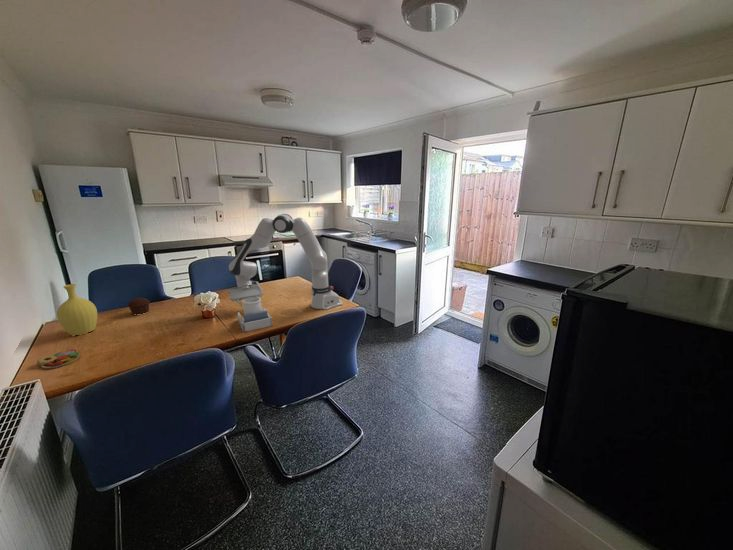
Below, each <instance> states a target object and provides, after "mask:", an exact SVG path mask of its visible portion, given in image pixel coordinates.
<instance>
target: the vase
mask: <svg viewBox="0 0 733 550" xmlns="http://www.w3.org/2000/svg"><path fill="white" fill-rule="evenodd" d="M76 286H77V285H76V284H75V283H71V284H64V285H63V286H62V287H63V288H64V289H65V290H66V292H67V294H68V298H67V299H66V300H65V301H64V302H62V304H60V306H59V307H58V308H57V310H56V318H57V320H58V322H59V323H60V326H61V327H63V329H64V330H65V332H67V333H68V334H69V335H70V336H71V335H80V334H83V333H87V332H90V331H92V330H94V329H95V330H96V327H97V322H98V310H97V307H96V305H95V304H94V303H93V302H92V301H91V300H89V299H86V298H81V297H79V296H77V294H76V293H77V292H76ZM95 330H94V331H95ZM80 336H81V335H80Z"/></svg>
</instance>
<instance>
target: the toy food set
mask: <svg viewBox="0 0 733 550" xmlns="http://www.w3.org/2000/svg"><path fill="white" fill-rule="evenodd" d="M79 357H80V352H79V351H77V350H76V349H68V350H66V351H64V352H57V353H54V355H47V356H43V357H40V358H38V359H37V361H36V365H37V366H40V367H41V368H43V369H57V368H60V367H64V366H67V365H70V364H71V362H72V363H74V362H75V361H77V359H79ZM74 360H75V361H74ZM73 361H74V362H73ZM69 363H70V364H69ZM66 364H67V365H66Z"/></svg>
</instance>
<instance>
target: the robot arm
mask: <svg viewBox="0 0 733 550" xmlns="http://www.w3.org/2000/svg"><path fill="white" fill-rule="evenodd" d="M276 232H277V233H279V234H285V233H288V232H289V233H290V232H292V233H293V234H294V236H295V238H296V239H297V240H298V242H299V244H300V245H301V247H302V249H303V251H304V253H305V255H306V257H307V259H308V261H309V263H310V266H311V295H312V296H311V304H310V306H311V308H313V309H318V310H324V311H325V310H329V309H333V308H335V307H336V308H337V307H339V306H342V305H343V304H344V302H343V300H341V299H340V296H339V294H337V293H336V292H335V291H333V290H334V286H333V285H329V273H328V272H329V269H328V260H329V259H328V254H327V253H326V251H324V250H323V248H322V246H321V244H320V243H319V240H318V238H317V237H316V235H315V233H314V232H313V229H312V228H311V226H310V224H308V222H307V221H306V220H305V219H304V218H303V217H296V218H294V219H293V217H292V216H291V215H290V214H287V213H281V214H278V215H277V216H276V217H274V219H271V218H269V217H265V218H262V219H261V220H260V221H259V223H258V225H257V227H256V229H255V231H254V232H253V235H251V236H250V237H249V238H247V239H245V240H244V242H243V243H242V244H241V247H240V248H239V249H238V251H237V253H236V254H235V256H234V258H233V259H232V260H231V261H230V262H229V264H228V268H227V269H228V271H229V273H230V274H232V276H235V277H234V278H235V280H236V285H237V286H235V287H230V288H229V289H227V291H228V292H227V293H228V294H229V299H230V302H236V303H237V304H238V305H239V307H242V306H243V300H244V299H246V298H250V297H259V298H261V297H262V296H263V295H264V291H263V289H262V287H261V286H260V284H259V281H255V280H251V279H252V278H254V276H256V275H257V274H258V272H259V267H258V265H257V263H255V262H252V261H246V260H245V259H246V257H247V255H248V254H249V253H250V252H251V251H253V250H257V249H263V248H266V247H268V246H269V245H270V244H271V241H272V240H273V237H274V235H275V233H276ZM241 301H242V302H241Z"/></svg>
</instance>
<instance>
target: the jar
mask: <svg viewBox="0 0 733 550" xmlns="http://www.w3.org/2000/svg"><path fill="white" fill-rule="evenodd" d="M261 301H262V298H261V297H250V298H246V299H244V300H242V304H243V313H244V314H243V315H245V314H250V313H256V312H260V311H263V306H262V302H261Z"/></svg>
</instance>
